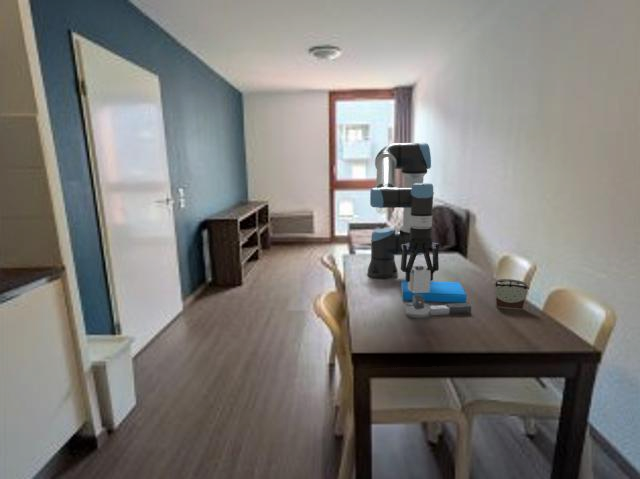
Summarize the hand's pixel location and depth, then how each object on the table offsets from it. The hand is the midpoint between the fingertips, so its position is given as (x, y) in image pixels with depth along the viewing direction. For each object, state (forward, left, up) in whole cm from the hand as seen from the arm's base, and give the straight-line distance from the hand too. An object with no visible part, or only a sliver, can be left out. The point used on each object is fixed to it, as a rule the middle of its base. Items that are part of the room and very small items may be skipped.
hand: (418, 289), depth 140 cm
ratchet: (0, +8, -10) cm, 12 cm away
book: (-20, +13, -10) cm, 26 cm away
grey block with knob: (0, 0, 0) cm, 0 cm away
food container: (-4, +38, -10) cm, 39 cm away
